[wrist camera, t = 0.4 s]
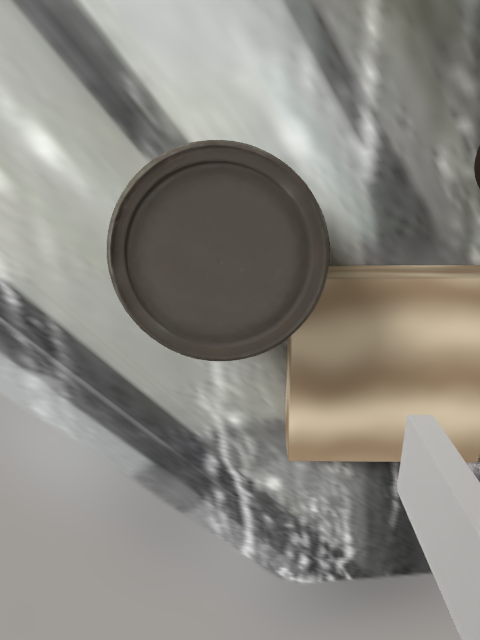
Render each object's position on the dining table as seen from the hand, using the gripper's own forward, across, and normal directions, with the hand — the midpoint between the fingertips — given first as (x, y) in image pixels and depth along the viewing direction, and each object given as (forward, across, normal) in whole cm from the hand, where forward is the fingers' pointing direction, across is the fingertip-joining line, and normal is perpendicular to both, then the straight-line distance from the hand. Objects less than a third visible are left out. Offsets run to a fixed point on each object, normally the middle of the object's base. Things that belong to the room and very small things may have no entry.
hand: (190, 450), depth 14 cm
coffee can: (+23, 0, +4) cm, 23 cm away
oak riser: (+23, +12, -7) cm, 27 cm away
